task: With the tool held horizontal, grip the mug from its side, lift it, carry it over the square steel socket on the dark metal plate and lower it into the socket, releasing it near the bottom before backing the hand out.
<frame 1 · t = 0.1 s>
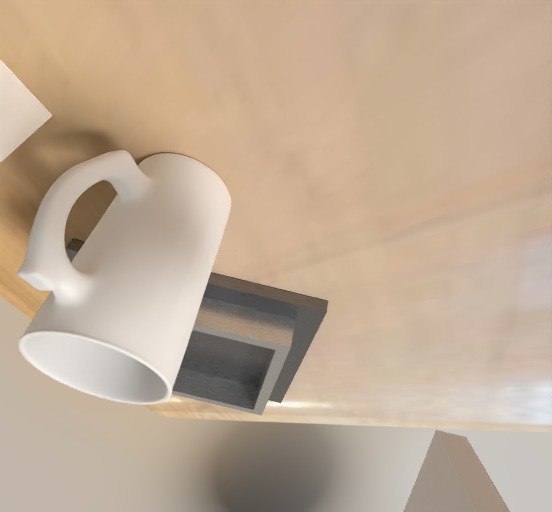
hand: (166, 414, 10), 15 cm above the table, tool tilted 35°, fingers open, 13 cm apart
socket plate: (198, 332, 39), on the table
mug: (172, 170, 25), on the table
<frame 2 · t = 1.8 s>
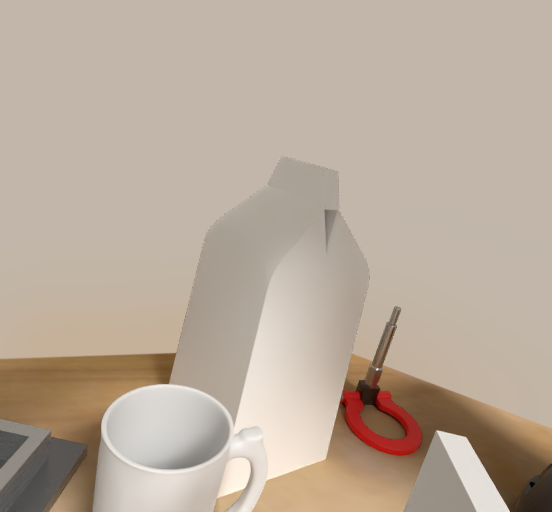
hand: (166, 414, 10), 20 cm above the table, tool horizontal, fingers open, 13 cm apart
tow hook: (379, 426, 46), on the table
milk: (242, 432, 40), on the table
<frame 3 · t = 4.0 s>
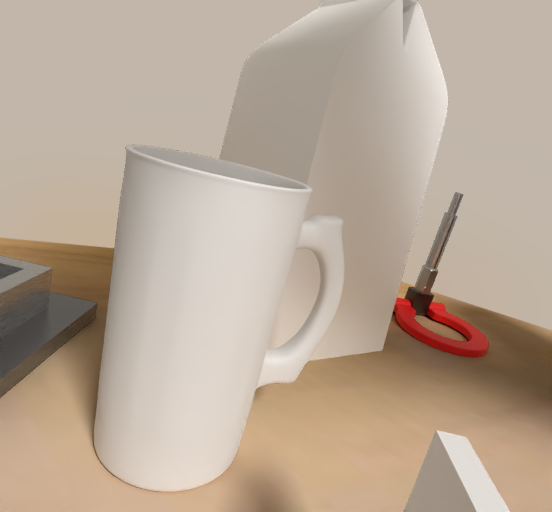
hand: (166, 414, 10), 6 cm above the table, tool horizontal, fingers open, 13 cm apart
tow hook: (435, 333, 40), on the table
milk: (280, 320, 34), on the table
mug: (203, 436, 19), on the table
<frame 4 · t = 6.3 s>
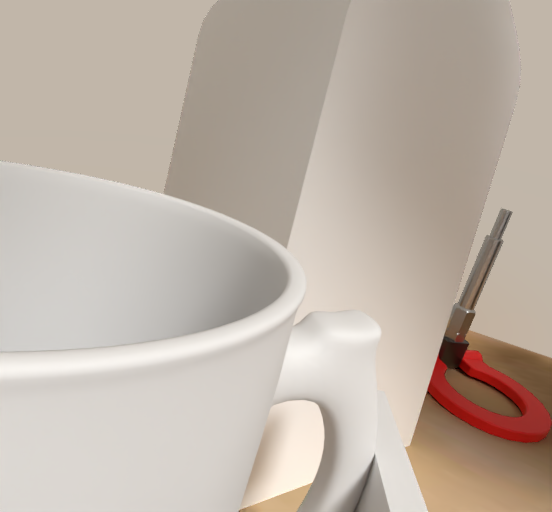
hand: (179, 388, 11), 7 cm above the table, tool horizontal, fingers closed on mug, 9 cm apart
tow hook: (474, 398, 29), on the table
milk: (261, 398, 23), on the table
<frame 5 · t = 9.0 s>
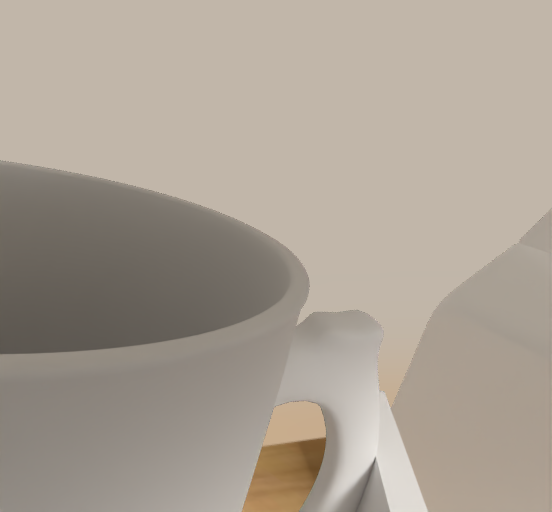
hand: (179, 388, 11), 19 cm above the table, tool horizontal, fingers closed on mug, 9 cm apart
when the fingers open (9 cm above the table, at t = 11.8 s): mug drops 2 cm, resting on socket plate.
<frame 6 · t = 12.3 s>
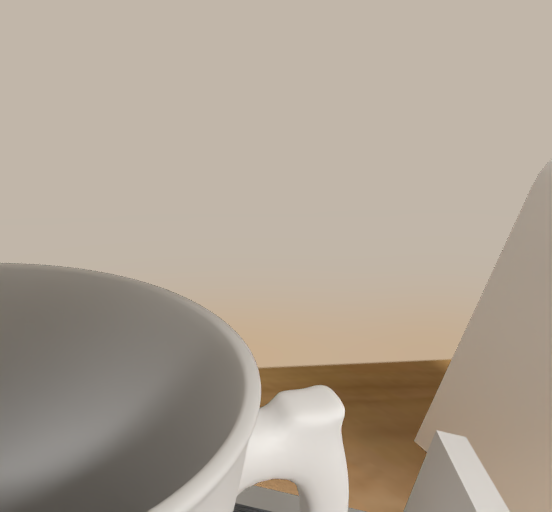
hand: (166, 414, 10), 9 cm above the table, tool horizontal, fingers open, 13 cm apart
milk: (543, 487, 26), on the table
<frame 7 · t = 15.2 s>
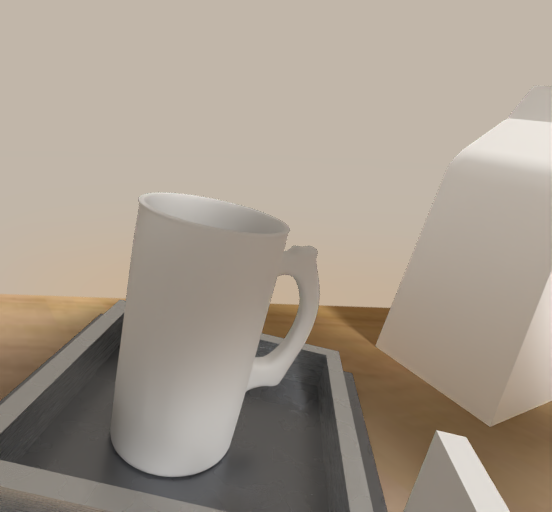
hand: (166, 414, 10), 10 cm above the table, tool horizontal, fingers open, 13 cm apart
socket plate: (195, 443, 23), on the table
milk: (460, 374, 40), on the table
mug: (202, 432, 23), point 1 cm above the table, touching socket plate
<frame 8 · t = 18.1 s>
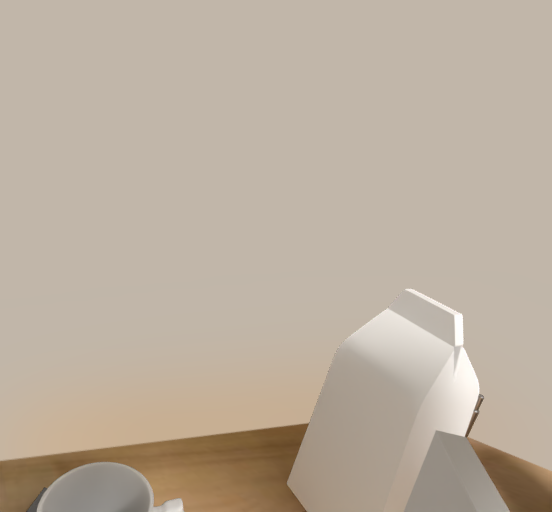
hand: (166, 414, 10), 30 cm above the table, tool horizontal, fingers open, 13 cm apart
milk: (355, 510, 47), on the table
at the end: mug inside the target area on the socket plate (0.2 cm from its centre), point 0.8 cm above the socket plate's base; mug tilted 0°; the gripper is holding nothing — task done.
